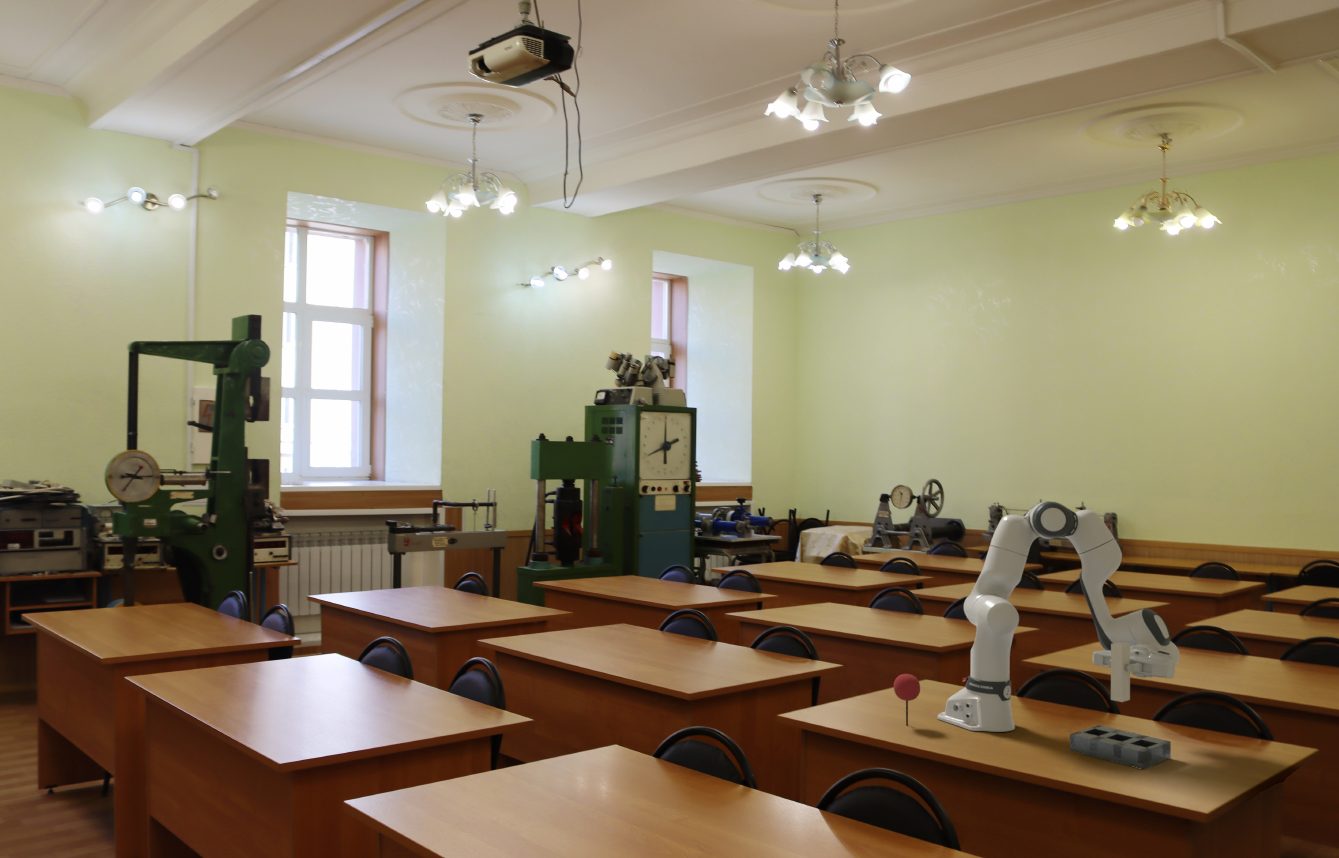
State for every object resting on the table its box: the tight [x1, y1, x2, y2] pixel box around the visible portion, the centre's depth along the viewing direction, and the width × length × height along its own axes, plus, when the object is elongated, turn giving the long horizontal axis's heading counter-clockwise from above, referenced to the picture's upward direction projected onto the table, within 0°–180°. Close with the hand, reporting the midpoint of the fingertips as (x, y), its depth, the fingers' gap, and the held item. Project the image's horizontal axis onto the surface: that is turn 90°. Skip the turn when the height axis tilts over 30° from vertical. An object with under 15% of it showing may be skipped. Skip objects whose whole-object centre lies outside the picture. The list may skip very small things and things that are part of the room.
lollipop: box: [893, 673, 921, 726], centre depth 281 cm, size 8×8×15 cm
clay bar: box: [1110, 642, 1131, 703], centre depth 256 cm, size 4×3×15 cm, turn 129°
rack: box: [1069, 724, 1172, 770], centre depth 256 cm, size 16×20×4 cm
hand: (1118, 666), depth 256 cm, fingers closed on clay bar, 3 cm apart
